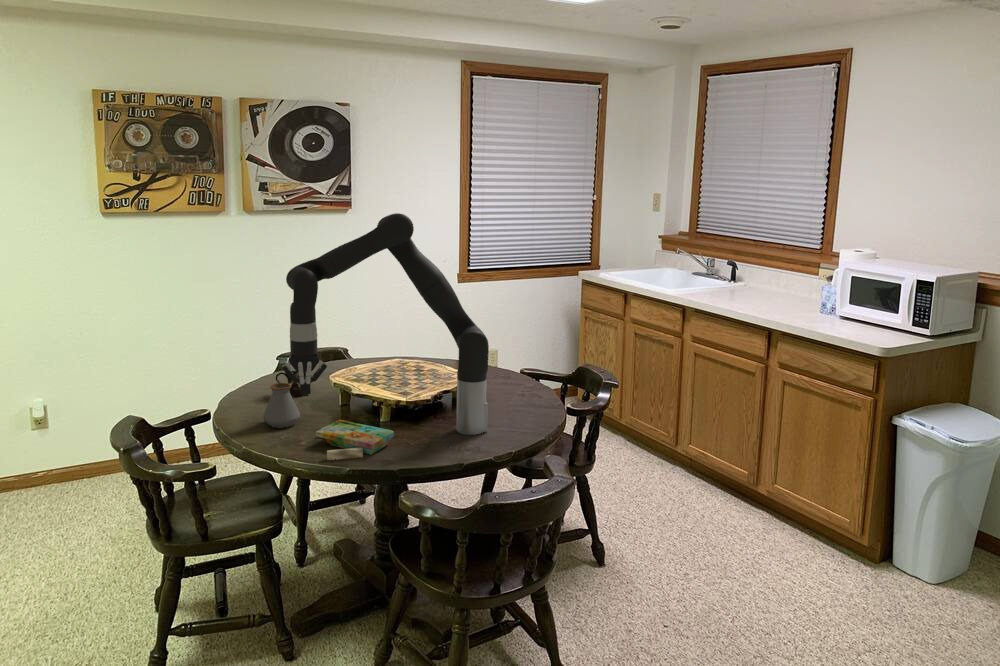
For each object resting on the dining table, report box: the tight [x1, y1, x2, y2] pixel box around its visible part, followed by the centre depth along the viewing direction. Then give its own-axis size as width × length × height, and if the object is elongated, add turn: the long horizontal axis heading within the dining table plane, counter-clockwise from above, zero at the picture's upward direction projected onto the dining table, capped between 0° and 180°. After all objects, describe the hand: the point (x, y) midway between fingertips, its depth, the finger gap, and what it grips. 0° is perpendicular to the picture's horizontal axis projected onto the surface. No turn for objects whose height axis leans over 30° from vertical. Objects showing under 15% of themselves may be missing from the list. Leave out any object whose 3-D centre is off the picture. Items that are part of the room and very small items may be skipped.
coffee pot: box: [262, 372, 301, 429], centre depth 250 cm, size 21×12×15 cm, turn 168°
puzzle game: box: [315, 419, 395, 455], centre depth 230 cm, size 12×5×20 cm
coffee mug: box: [275, 365, 306, 398], centre depth 277 cm, size 12×9×10 cm
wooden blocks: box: [326, 448, 364, 461], centre depth 230 cm, size 10×20×2 cm, turn 17°
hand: (305, 395), depth 223 cm, fingers closed
